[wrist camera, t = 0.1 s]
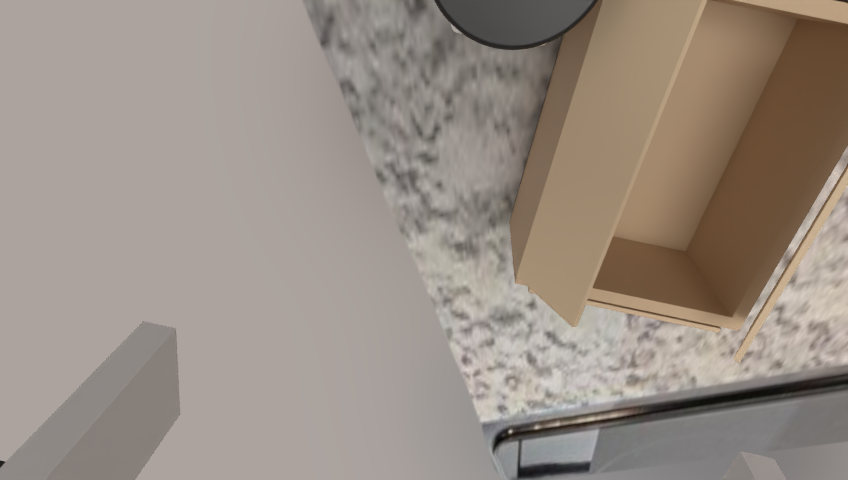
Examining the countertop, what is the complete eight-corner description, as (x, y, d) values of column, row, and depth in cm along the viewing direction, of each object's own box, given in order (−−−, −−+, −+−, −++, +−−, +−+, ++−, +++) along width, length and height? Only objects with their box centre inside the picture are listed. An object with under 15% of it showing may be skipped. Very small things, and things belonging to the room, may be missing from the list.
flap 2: (923, 41, 20) (933, 43, 20) (919, 43, 24) (927, 45, 23) (733, 359, 27) (739, 362, 27) (751, 324, 31) (757, 327, 31)
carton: (587, -50, 32) (621, -57, 24) (817, -3, 31) (928, 6, 23) (507, 226, 40) (513, 289, 32) (686, 264, 40) (735, 336, 32)
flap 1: (614, -20, 24) (609, -21, 24) (708, -3, 20) (703, -4, 20) (520, 275, 31) (516, 276, 31) (576, 326, 28) (572, 327, 27)
